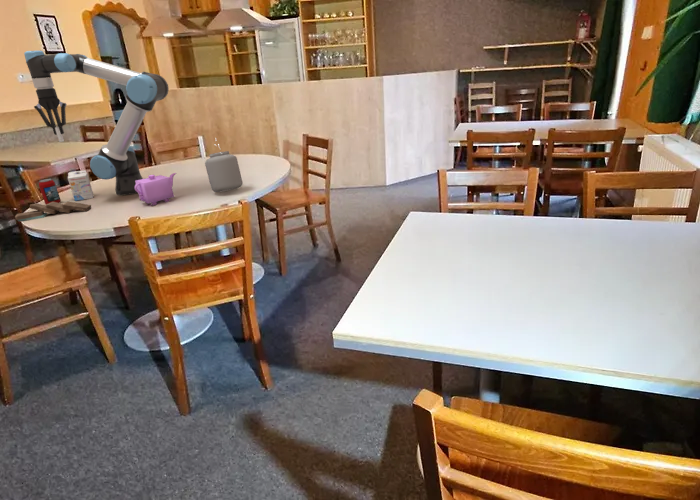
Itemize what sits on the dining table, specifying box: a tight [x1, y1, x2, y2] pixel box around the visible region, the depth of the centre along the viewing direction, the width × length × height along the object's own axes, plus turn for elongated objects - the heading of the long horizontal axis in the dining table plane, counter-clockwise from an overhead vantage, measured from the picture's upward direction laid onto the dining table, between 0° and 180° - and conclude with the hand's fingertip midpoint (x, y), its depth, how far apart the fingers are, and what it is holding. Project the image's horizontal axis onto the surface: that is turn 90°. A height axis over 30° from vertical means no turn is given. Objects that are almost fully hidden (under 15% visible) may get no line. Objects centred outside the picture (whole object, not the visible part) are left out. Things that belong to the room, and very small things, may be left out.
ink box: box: [67, 170, 94, 202], centre depth 227 cm, size 9×8×13 cm
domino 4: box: [45, 202, 76, 214], centre depth 205 cm, size 2×5×10 cm
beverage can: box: [38, 178, 62, 205], centre depth 220 cm, size 7×7×12 cm
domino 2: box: [17, 212, 48, 222], centre depth 202 cm, size 2×5×10 cm
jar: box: [204, 137, 244, 193], centre depth 212 cm, size 19×15×25 cm
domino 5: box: [62, 201, 92, 212], centre depth 205 cm, size 2×5×10 cm
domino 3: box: [29, 203, 60, 215], centre depth 203 cm, size 2×5×10 cm
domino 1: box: [14, 210, 45, 221], centre depth 200 cm, size 2×5×10 cm
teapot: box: [135, 172, 177, 206], centre depth 208 cm, size 20×10×12 cm, turn 134°
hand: (61, 141), depth 212 cm, fingers closed
